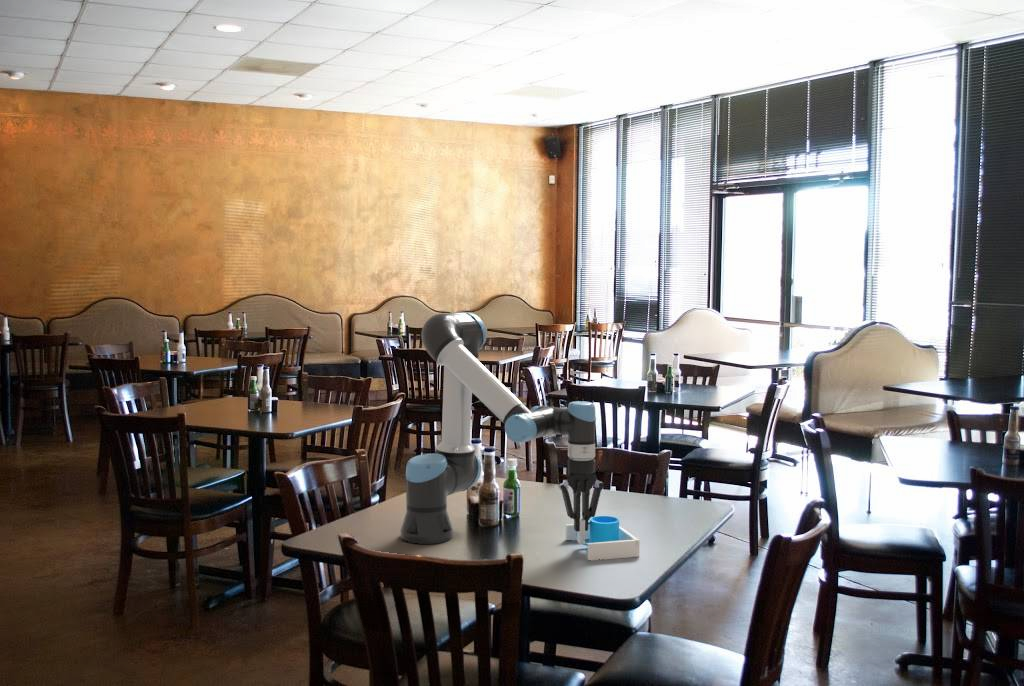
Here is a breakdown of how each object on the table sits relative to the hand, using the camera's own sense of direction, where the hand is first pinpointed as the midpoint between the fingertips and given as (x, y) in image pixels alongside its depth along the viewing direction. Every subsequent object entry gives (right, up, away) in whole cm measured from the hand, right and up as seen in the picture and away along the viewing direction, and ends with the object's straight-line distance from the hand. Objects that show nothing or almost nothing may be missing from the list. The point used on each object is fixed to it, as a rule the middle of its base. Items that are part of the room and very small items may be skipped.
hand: (581, 542), depth 265 cm
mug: (+5, -2, +2) cm, 6 cm away
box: (+6, -2, +2) cm, 6 cm away
